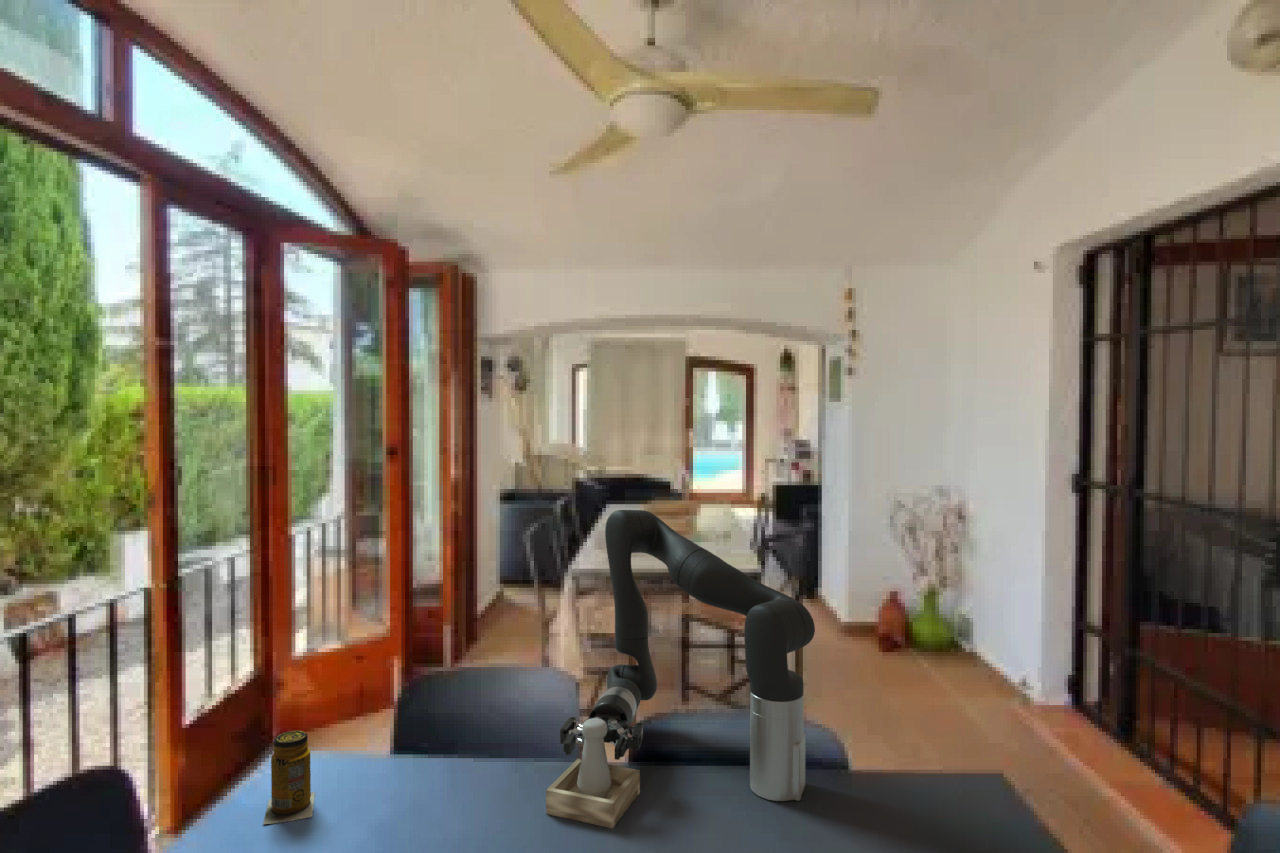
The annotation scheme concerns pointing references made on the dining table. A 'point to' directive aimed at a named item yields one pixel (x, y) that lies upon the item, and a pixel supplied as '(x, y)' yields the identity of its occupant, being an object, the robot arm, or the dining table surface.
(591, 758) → the salt shaker
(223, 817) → the dining table surface
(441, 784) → the dining table surface
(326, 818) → the dining table surface
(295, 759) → the condiment
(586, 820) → the serving bin
